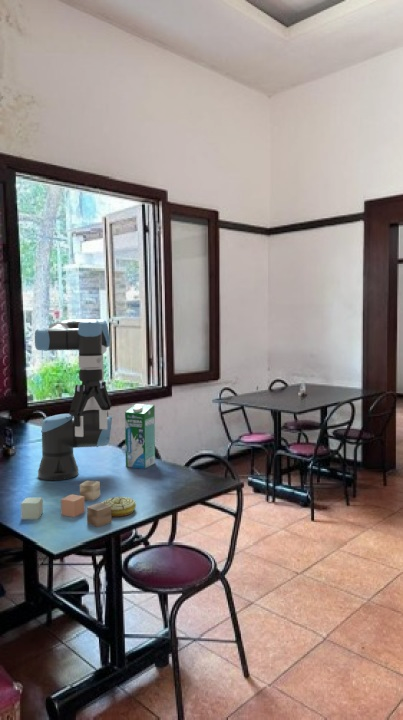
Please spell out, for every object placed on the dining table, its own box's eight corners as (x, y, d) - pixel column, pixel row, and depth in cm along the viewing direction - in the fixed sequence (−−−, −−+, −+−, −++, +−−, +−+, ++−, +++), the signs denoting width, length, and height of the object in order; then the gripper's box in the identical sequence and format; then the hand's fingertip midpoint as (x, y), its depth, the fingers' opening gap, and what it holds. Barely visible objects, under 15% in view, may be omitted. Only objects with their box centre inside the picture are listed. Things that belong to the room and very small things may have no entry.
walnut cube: (87, 523, 152) (86, 507, 151) (100, 518, 156) (100, 502, 155) (98, 527, 148) (97, 511, 148) (111, 522, 152) (111, 506, 152)
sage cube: (21, 519, 155) (20, 503, 155) (26, 513, 160) (26, 497, 160) (37, 519, 155) (37, 503, 155) (42, 513, 160) (42, 497, 160)
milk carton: (125, 466, 211) (124, 406, 209) (136, 461, 219) (135, 403, 217) (145, 469, 207) (144, 407, 206) (155, 463, 216) (154, 404, 214)
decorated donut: (111, 504, 168) (111, 493, 167) (141, 508, 164) (140, 496, 164) (94, 515, 158) (94, 503, 158) (126, 520, 154) (125, 507, 154)
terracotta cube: (61, 514, 158) (61, 499, 158) (71, 509, 163) (71, 494, 163) (74, 517, 156) (74, 501, 156) (84, 511, 161) (84, 496, 161)
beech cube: (79, 499, 172) (79, 484, 172) (86, 494, 177) (86, 480, 177) (93, 500, 171) (93, 486, 171) (100, 495, 176) (99, 481, 175)
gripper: (76, 371, 156) (78, 440, 157) (120, 366, 179) (121, 427, 180) (56, 370, 159) (58, 438, 160) (102, 366, 182) (103, 425, 183)
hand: (91, 432), depth 170 cm, fingers open, 13 cm apart
